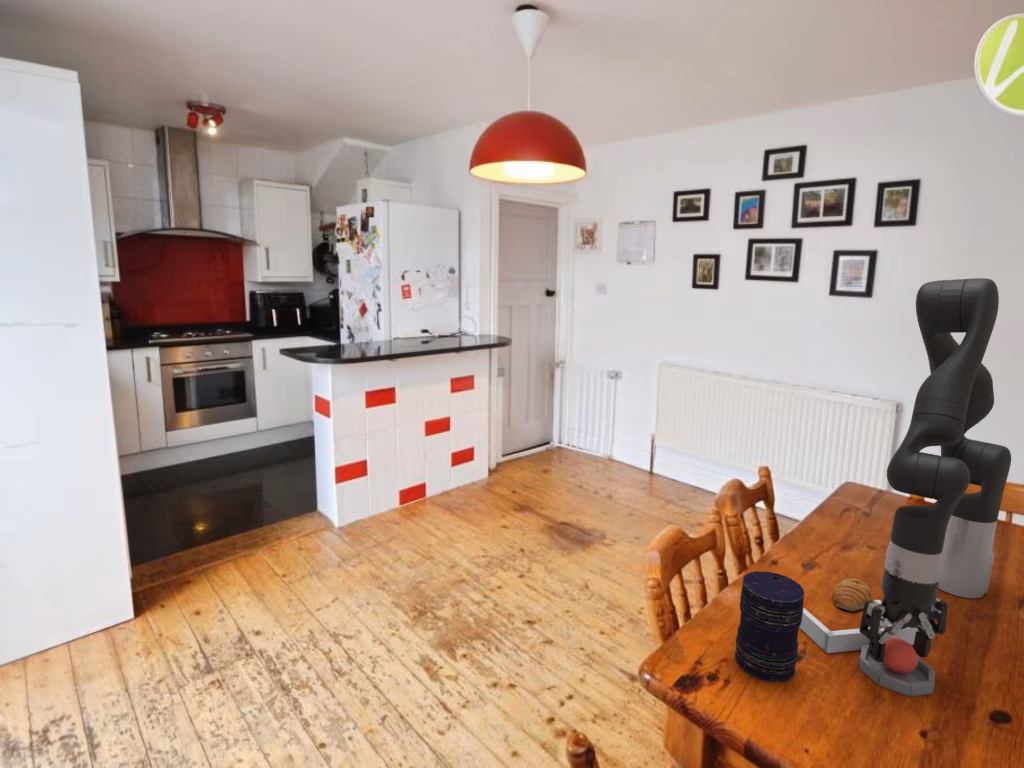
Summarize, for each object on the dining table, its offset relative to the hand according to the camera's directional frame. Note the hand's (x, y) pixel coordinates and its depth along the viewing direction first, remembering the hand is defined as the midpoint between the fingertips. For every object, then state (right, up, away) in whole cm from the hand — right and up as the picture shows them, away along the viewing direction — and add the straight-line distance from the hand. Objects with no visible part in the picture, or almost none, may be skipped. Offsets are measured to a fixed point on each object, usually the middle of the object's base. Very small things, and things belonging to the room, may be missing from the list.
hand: (897, 657), depth 97 cm
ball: (0, -2, +1) cm, 3 cm away
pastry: (+5, +1, +22) cm, 23 cm away
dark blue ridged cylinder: (-22, -3, +3) cm, 22 cm away
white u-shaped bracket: (-1, -1, +11) cm, 11 cm away
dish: (0, -3, +1) cm, 3 cm away
